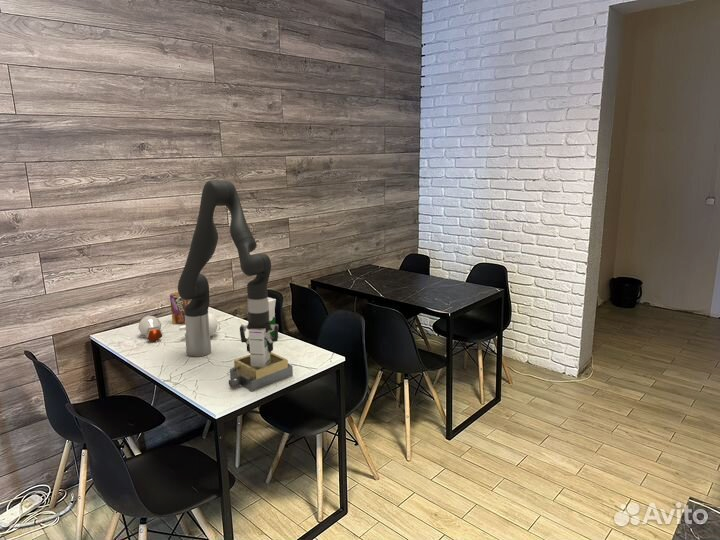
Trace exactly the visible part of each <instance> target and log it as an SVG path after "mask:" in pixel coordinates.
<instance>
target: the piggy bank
mask: <svg viewBox="0 0 720 540" xmlns="http://www.w3.org/2000/svg"><path fill="white" fill-rule="evenodd" d="M208 316H209V329H210V337H212V336H213V335H215V333H216V331H218V326H219V321H218V319H217V316H215V314H213V313H211V312H208ZM178 328H179V329H178V330H179V331H186V324H182V325H181V326H179V327H178Z"/></svg>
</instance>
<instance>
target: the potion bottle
mask: <svg viewBox="0 0 720 540" xmlns="http://www.w3.org/2000/svg"><path fill="white" fill-rule="evenodd" d="M161 330H162V323H161V321H160V319H159V318H158V317H157V316H153V315H146V316H145V317H142V318H141V320H140V321H139V322H138V331H139V332H140V334H142V335H143V336H144V337H145V338H146V339H147V340H148V341H151V342H153V343H157V342H158V341H160V339H161V338H162V337H163V332H162V331H161Z"/></svg>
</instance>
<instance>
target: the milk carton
mask: <svg viewBox="0 0 720 540" xmlns="http://www.w3.org/2000/svg"><path fill="white" fill-rule="evenodd" d="M268 302H269V322H270V324H271V325H275V324H276V316H275V315H276V313H275V310H276V309H275V308H276V302H277V299H276V298H272V297H268ZM269 333H270V335H271V336H272V338H273V337H274V331H273V330H272V328H270V329H269Z"/></svg>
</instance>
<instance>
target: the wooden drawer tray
mask: <svg viewBox="0 0 720 540" xmlns="http://www.w3.org/2000/svg"><path fill="white" fill-rule="evenodd" d="M270 353H271V362H270V363H269V364H268V365H267V366H266V367H254V366H251V359H250V354H247V355H245V356H242V357H239V358H237V359H234V360H233V363H234V365H233V366H234V367H232V368H230V369H229V376H230V379H229V380H228V385H229V387H230V389H233V388H236V387H238V386H241V387H243V388H245V389H246V390H248V391H250V392H255V391H258V390H260V389H263V388H265V387H268V386H270V385H273V384H276V383H278V382H281V381H283V380H285V379H287V378H290V377H292V376H293V374H294V373H293V365H292V364H290V362H289V360H288V359H287V358H284V357H283V356H280V355H278V354H276V353H274V352H273V351H271V352H270Z"/></svg>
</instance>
